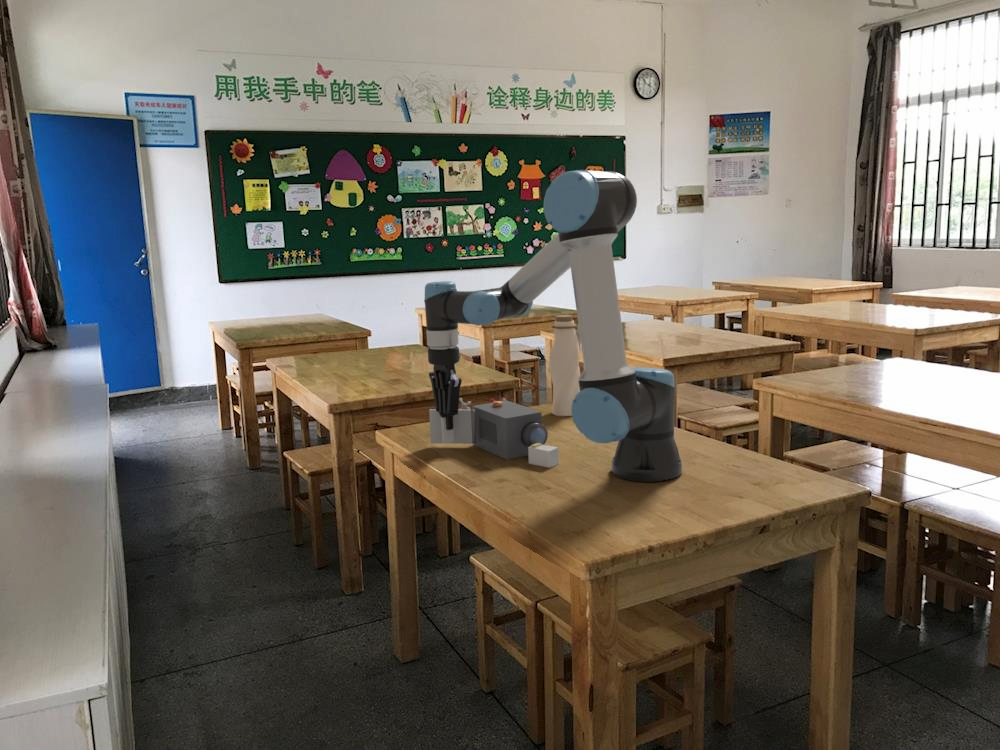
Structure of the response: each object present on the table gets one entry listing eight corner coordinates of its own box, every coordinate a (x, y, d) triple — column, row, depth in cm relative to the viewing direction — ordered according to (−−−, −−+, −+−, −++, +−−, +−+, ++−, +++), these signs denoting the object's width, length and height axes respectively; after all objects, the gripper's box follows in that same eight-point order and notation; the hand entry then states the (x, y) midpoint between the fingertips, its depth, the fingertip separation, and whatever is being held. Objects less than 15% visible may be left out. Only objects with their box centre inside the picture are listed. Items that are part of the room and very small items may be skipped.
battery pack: (558, 464, 186) (558, 445, 186) (549, 468, 184) (549, 449, 183) (537, 460, 190) (537, 442, 189) (528, 463, 188) (528, 445, 187)
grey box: (549, 455, 193) (548, 410, 191) (513, 462, 188) (511, 416, 186) (507, 438, 209) (506, 396, 207) (473, 444, 204) (471, 402, 202)
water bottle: (564, 407, 241) (562, 312, 236) (589, 410, 235) (588, 314, 230) (543, 414, 233) (541, 316, 228) (569, 418, 227) (568, 318, 222)
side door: (430, 443, 203) (429, 410, 202) (432, 441, 205) (431, 408, 204) (476, 444, 201) (474, 410, 200) (477, 441, 203) (476, 408, 201)
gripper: (469, 347, 192) (474, 444, 196) (445, 342, 202) (449, 434, 207) (441, 351, 188) (446, 450, 192) (417, 345, 198) (423, 439, 203)
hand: (448, 441), depth 199 cm, fingers closed
